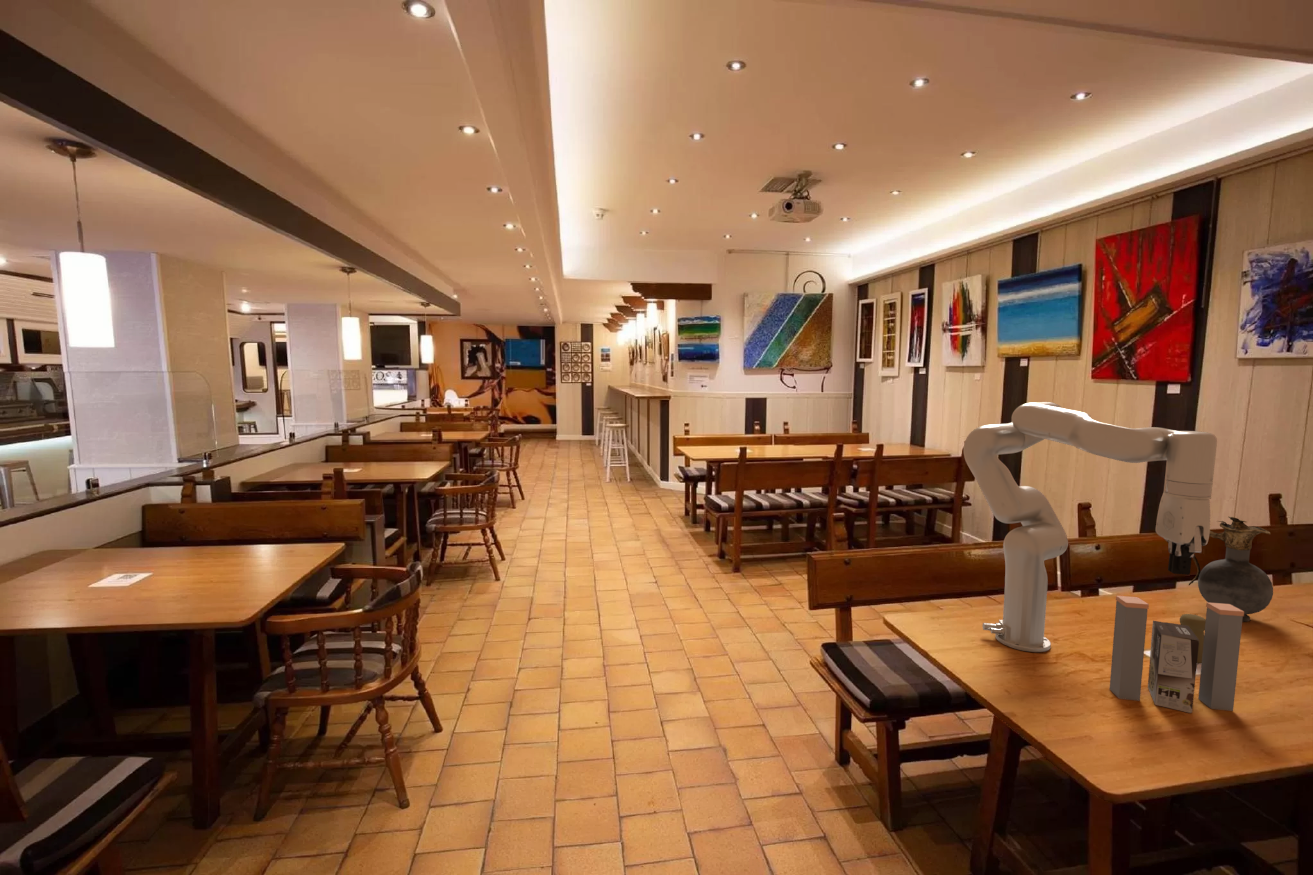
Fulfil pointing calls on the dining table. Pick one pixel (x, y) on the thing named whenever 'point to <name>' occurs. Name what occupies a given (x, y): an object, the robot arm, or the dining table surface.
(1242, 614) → the post far
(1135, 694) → the post near base
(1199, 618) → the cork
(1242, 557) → the pitcher
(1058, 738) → the dining table surface
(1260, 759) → the dining table surface
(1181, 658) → the coffee box
